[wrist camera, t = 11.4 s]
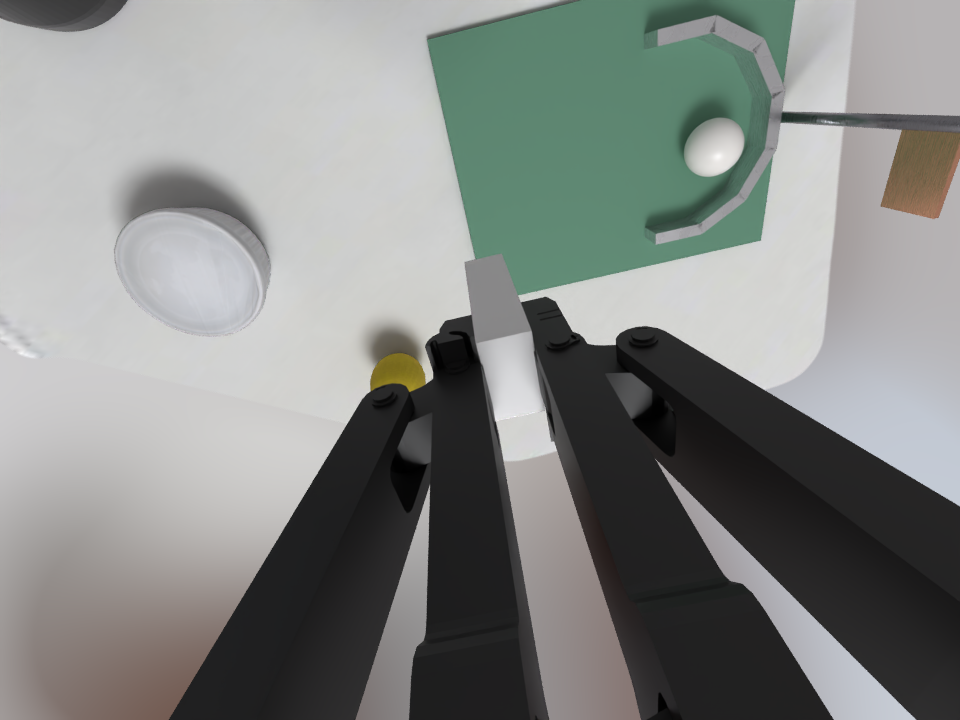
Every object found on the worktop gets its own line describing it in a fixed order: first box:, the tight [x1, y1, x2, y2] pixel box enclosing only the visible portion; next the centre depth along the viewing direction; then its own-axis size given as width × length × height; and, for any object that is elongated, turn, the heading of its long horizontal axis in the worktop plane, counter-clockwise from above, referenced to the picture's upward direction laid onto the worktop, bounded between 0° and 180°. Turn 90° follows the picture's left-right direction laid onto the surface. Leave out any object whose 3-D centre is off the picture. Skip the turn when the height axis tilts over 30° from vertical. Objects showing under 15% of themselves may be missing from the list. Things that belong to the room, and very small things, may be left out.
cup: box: [644, 15, 960, 245], centre depth 30 cm, size 16×12×16 cm
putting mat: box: [427, 0, 795, 295], centre depth 37 cm, size 22×28×1 cm
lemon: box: [370, 353, 426, 392], centre depth 43 cm, size 6×6×8 cm
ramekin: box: [114, 207, 271, 337], centre depth 37 cm, size 11×11×5 cm
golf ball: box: [684, 118, 744, 177], centre depth 35 cm, size 4×4×4 cm
